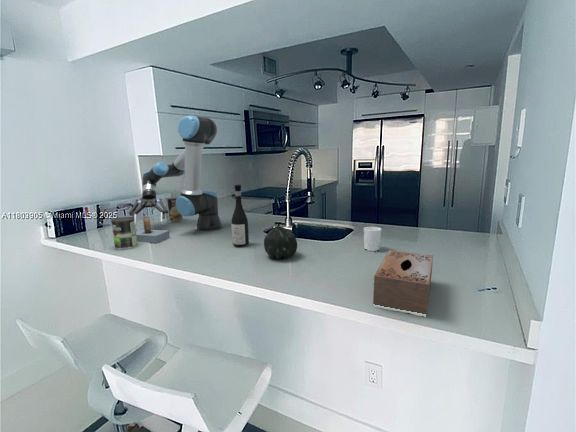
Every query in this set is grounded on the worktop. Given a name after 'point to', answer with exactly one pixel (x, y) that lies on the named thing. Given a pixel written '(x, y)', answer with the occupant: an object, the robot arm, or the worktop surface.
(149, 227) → the dowel
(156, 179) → the robot arm
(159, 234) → the socket board
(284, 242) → the squash
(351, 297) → the worktop surface
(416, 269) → the tissue box cover
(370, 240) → the white cup
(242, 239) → the wine bottle
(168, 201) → the coffee box
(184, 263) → the worktop surface
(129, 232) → the coffee can
